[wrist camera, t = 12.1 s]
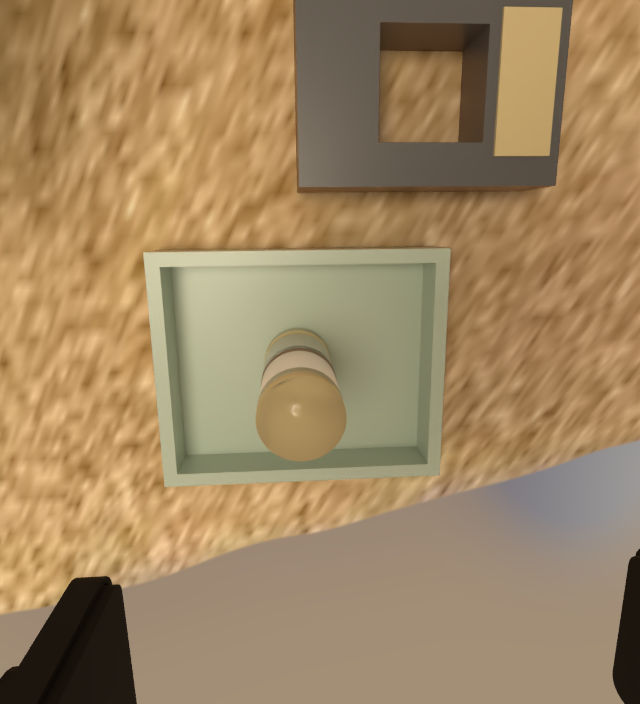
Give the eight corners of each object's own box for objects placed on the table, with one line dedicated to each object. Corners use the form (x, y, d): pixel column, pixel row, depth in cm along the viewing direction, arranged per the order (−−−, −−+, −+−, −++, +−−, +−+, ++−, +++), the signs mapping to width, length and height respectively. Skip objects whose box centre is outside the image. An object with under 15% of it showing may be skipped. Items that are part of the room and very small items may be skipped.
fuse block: (536, 9, 29) (577, -27, 25) (522, 191, 31) (557, 185, 27) (293, 5, 28) (294, -33, 24) (297, 192, 31) (299, 186, 27)
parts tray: (433, 246, 32) (450, 248, 28) (424, 451, 35) (439, 475, 32) (158, 250, 31) (143, 252, 27) (176, 461, 34) (164, 486, 31)
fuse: (327, 325, 32) (344, 372, 22) (331, 386, 33) (348, 457, 23) (262, 330, 32) (251, 380, 22) (268, 391, 33) (259, 465, 23)
